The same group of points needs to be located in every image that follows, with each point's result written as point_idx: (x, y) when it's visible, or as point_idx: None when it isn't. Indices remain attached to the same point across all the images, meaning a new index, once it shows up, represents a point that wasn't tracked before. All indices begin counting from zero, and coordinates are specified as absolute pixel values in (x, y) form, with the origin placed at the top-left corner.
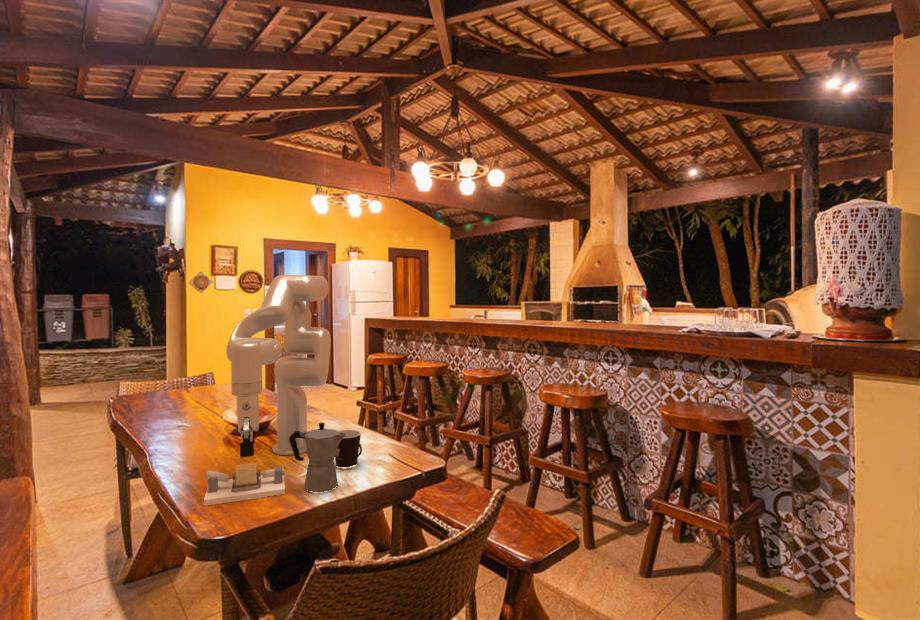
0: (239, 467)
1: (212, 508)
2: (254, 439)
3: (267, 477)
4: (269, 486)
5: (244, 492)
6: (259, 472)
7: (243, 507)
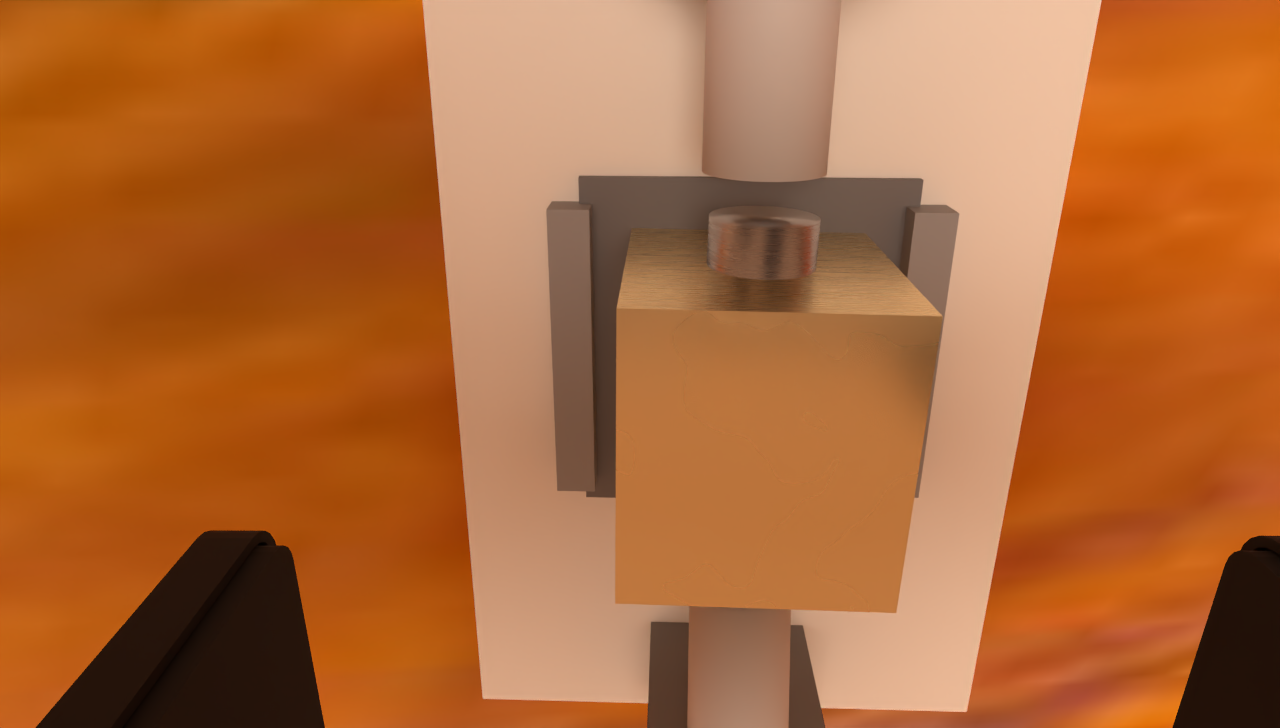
0: (774, 567)
1: (1046, 602)
2: (214, 599)
3: (549, 81)
4: (920, 53)
5: (972, 365)
6: (812, 232)
7: (1200, 342)
